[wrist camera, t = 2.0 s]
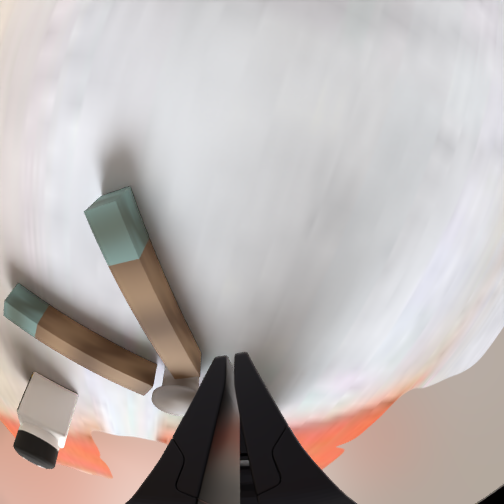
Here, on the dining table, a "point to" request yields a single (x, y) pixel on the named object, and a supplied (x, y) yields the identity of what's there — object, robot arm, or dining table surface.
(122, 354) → the base
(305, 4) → the dining table surface
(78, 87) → the dining table surface
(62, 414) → the medicine bottle
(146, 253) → the tong leg
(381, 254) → the dining table surface
